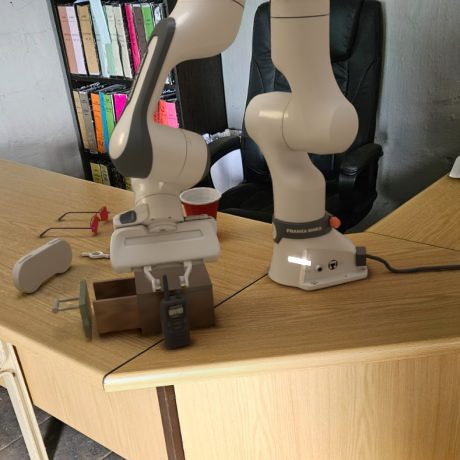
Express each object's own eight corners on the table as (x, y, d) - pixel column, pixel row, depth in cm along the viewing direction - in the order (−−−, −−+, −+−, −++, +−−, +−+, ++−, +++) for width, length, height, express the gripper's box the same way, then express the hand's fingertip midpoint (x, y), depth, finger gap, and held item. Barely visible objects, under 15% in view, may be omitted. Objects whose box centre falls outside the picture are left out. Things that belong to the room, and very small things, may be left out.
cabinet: (142, 336, 126) (136, 294, 121) (139, 307, 137) (133, 268, 132) (215, 326, 128) (212, 284, 123) (206, 299, 138) (203, 260, 134)
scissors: (115, 240, 170) (163, 258, 157) (115, 243, 170) (163, 261, 157) (81, 253, 163) (128, 272, 151) (82, 255, 164) (128, 275, 151)
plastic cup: (188, 248, 165) (184, 202, 158) (179, 234, 174) (175, 190, 167) (228, 241, 167) (226, 196, 161) (218, 228, 176) (215, 185, 170)
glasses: (96, 237, 175) (93, 220, 172) (39, 237, 178) (35, 220, 175) (112, 220, 187) (109, 203, 184) (58, 220, 189) (55, 203, 187)
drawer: (56, 342, 124) (48, 308, 120) (59, 315, 134) (52, 284, 130) (154, 328, 126) (149, 295, 123) (150, 303, 136) (146, 272, 132)
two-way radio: (166, 351, 120) (157, 279, 112) (159, 341, 124) (150, 270, 116) (194, 345, 122) (187, 272, 114) (186, 334, 125) (179, 264, 118)
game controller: (67, 264, 160) (61, 232, 155) (75, 265, 159) (69, 233, 154) (15, 297, 145) (6, 263, 140) (23, 299, 144) (15, 264, 140)
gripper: (214, 220, 124) (225, 287, 120) (107, 233, 121) (116, 301, 118) (216, 205, 118) (228, 275, 114) (104, 218, 115) (113, 289, 112)
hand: (170, 288), depth 116 cm, fingers open, 4 cm apart
